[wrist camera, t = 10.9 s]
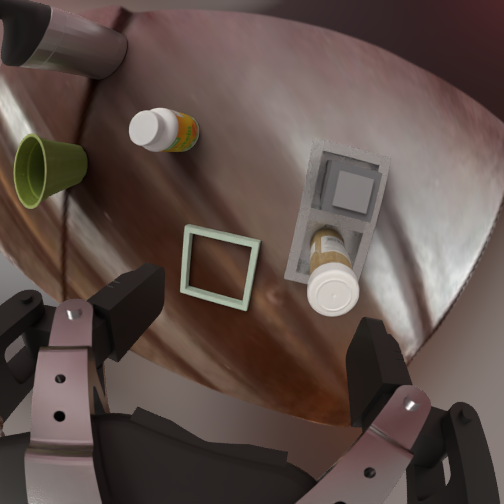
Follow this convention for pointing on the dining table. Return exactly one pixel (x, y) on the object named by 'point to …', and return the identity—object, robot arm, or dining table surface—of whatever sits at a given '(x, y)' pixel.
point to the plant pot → (46, 168)
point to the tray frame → (225, 237)
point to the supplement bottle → (164, 130)
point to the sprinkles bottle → (331, 275)
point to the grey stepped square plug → (349, 190)
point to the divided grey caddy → (315, 219)
